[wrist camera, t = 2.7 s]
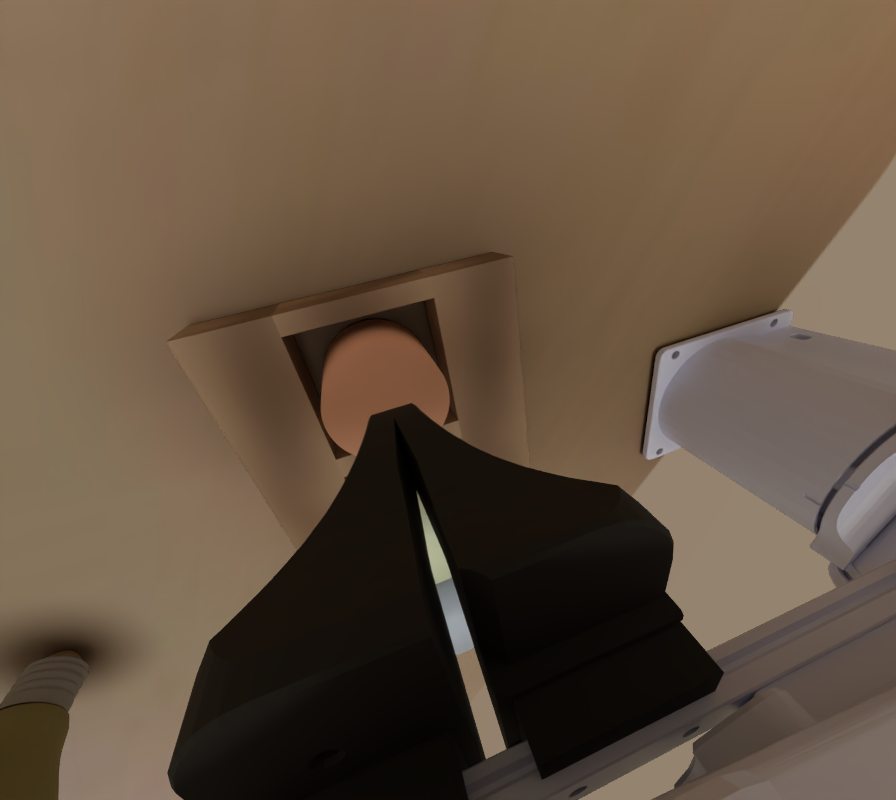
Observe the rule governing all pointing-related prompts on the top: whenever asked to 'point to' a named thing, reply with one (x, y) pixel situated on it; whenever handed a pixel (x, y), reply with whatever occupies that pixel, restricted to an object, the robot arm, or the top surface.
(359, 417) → the orange rounded lump
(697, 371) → the robot arm
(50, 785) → the light bulb
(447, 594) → the grey rounded piece
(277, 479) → the wooden compartment tray
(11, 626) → the top surface
